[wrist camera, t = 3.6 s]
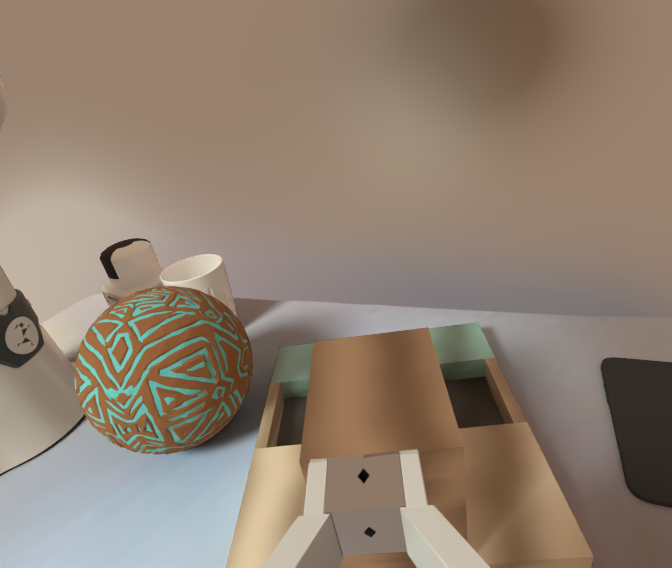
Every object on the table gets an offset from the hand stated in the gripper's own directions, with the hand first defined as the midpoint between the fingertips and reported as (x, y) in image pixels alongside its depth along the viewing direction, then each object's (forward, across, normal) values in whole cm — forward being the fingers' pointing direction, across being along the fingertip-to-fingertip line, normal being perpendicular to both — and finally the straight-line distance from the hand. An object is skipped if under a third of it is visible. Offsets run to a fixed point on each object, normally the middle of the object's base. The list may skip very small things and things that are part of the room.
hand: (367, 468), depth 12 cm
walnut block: (+11, 0, +17) cm, 20 cm away
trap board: (+18, 0, +19) cm, 27 cm away
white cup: (+39, +22, +20) cm, 49 cm away
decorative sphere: (+22, +19, +20) cm, 35 cm away
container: (+43, +32, +20) cm, 57 cm away
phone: (+17, -22, +20) cm, 34 cm away
